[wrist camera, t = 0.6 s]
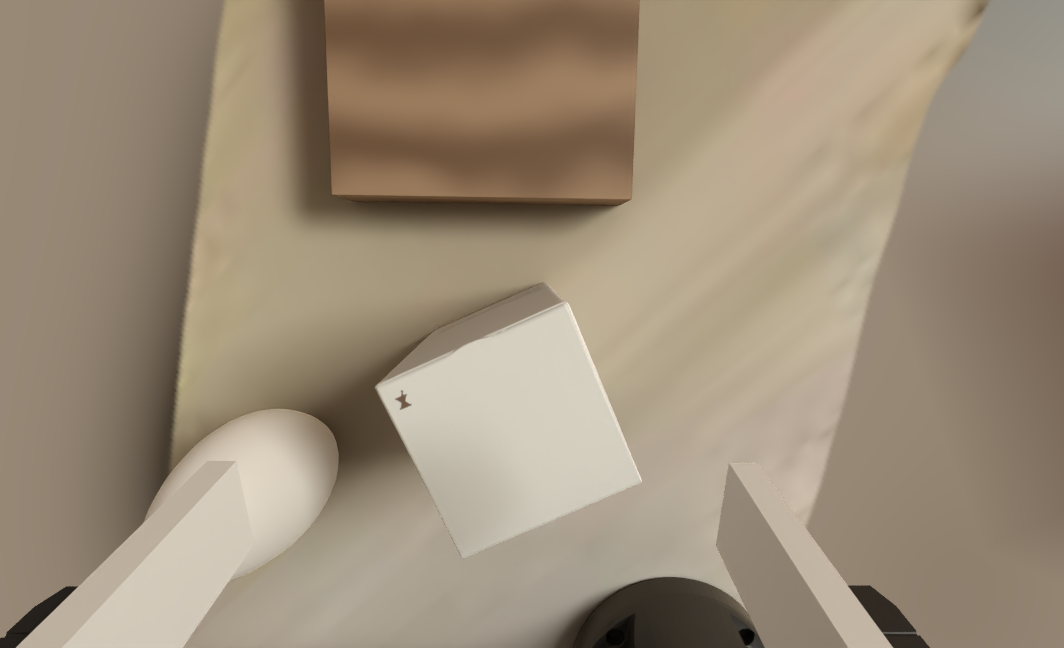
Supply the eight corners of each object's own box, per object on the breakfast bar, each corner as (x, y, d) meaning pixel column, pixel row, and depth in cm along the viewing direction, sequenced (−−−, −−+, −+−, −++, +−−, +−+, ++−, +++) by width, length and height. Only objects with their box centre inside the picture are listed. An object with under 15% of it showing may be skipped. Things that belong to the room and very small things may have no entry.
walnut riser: (619, 205, 35) (631, 199, 31) (353, 201, 34) (331, 194, 30) (630, -86, 32) (644, -133, 28) (343, -93, 32) (318, -142, 28)
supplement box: (482, 442, 37) (456, 569, 22) (430, 330, 36) (364, 385, 21) (598, 392, 37) (649, 488, 22) (548, 278, 35) (567, 297, 21)
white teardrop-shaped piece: (266, 375, 36) (13, 495, 18) (373, 407, 36) (230, 556, 19) (239, 475, 37) (-24, 682, 19) (344, 505, 37) (182, 736, 20)
